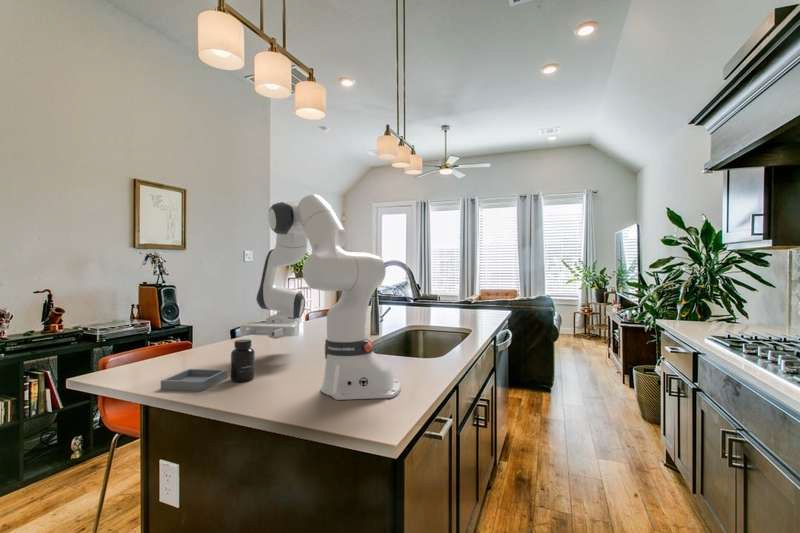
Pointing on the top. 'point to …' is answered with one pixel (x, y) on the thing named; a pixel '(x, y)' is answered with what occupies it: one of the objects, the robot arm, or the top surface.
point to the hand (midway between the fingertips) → (260, 333)
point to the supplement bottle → (242, 361)
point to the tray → (194, 379)
